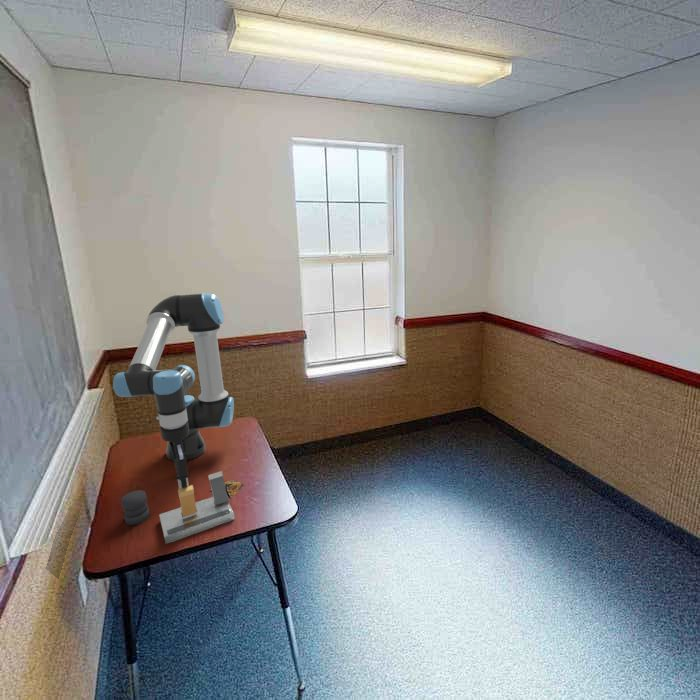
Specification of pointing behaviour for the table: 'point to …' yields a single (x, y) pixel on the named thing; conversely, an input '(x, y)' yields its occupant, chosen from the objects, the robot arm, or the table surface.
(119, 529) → the table surface
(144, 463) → the table surface
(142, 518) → the grey stacked discs
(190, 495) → the paddle orange
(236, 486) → the butterfly model
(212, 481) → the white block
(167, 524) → the panel
